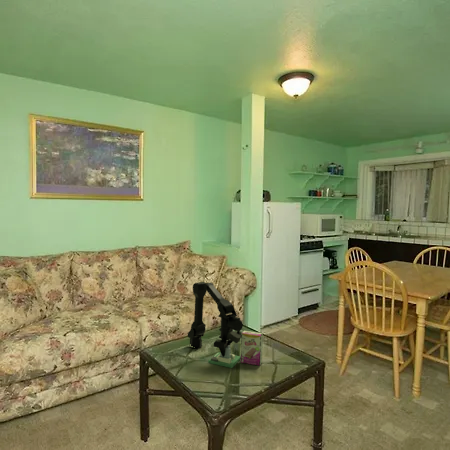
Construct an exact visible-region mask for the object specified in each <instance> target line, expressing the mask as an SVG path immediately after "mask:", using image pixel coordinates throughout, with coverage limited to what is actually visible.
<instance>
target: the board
mask: <svg viewBox="0 0 450 450" xmlns="http://www.w3.org/2000/svg"><path fill="white" fill-rule="evenodd" d="M220 354H221V352H219V351H218V352H216V353H215V354H214V355H213V356H212V357H210V358H209V359H208V361H207V363H208V364H210V365H211V364H212V365H216V366H221V367H224V368H225V367H226V368H231V369H233V368H234V367H235V366H236V364H238V362H240V361H241V355H237V354H233V353H231V358H229V359H227V358H222V357H220Z"/></svg>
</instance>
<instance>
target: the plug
mask: <svg viewBox="0 0 450 450" xmlns="http://www.w3.org/2000/svg"><path fill="white" fill-rule="evenodd" d="M231 354H232V348H231V345H228V346H227V347H226V351H225V356H224V357H223V356H222V354H220V357H222V358H227V359H229V358H231Z"/></svg>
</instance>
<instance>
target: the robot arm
mask: <svg viewBox="0 0 450 450" xmlns="http://www.w3.org/2000/svg"><path fill="white" fill-rule="evenodd" d="M192 293H193V295H194V318H193V321H192V323H191V326H190V330H189V331H188V332H187V337H188V338H189V345H190V344H191V346H193V347H195V348H196V349H195V350H199V349H201V348H202V347H203V339H202V337H204V335H205V332H206V323H204V321H203V317H204V316H203V315H204V298H205V295H206V294H207V293H208V294H209V296H210V297H211V298H212V300H213V301H214V302H215V304H216V305H217V306H216V307H217V310H218V311H219V315H218V317H219V318H220V327H219V329H218V331H220V335H219V337H218V339H216V340H215V341H213V347H215V348H218V350H219V351H220V352H221V354H222V356H223V357H224V356H225V351H226V347H227V346H228V345H230V346H231V345H232V343H235V344H238V343H240V342H241V333H242V329H243V327H244V324H243V321H242V320H241V318H240V317H238V315H237V312H236V309H235V308H234V305H233V303H231V301H229V300H228V299H225V298H224V296H222V294H221V293H220V292H219V290H218V289H217V288H216V287H215V285H214V283H213V282H205V281H199V282H195V283H193V284H192ZM201 346H202V347H201ZM198 348H199V349H198Z"/></svg>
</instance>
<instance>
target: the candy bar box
mask: <svg viewBox="0 0 450 450" xmlns="http://www.w3.org/2000/svg"><path fill="white" fill-rule="evenodd" d="M263 336H264V333H263V332H257V331H250V330H242V331H241V338H240V356H241V359H240V363H242V364H245V365H246V364H248V365H253V366H257V367H258V366H259V367H260V366H261V365H262V363H263V347H264V346H263V343H264V342H263V341H264V340H263V339H264V337H263Z"/></svg>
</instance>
